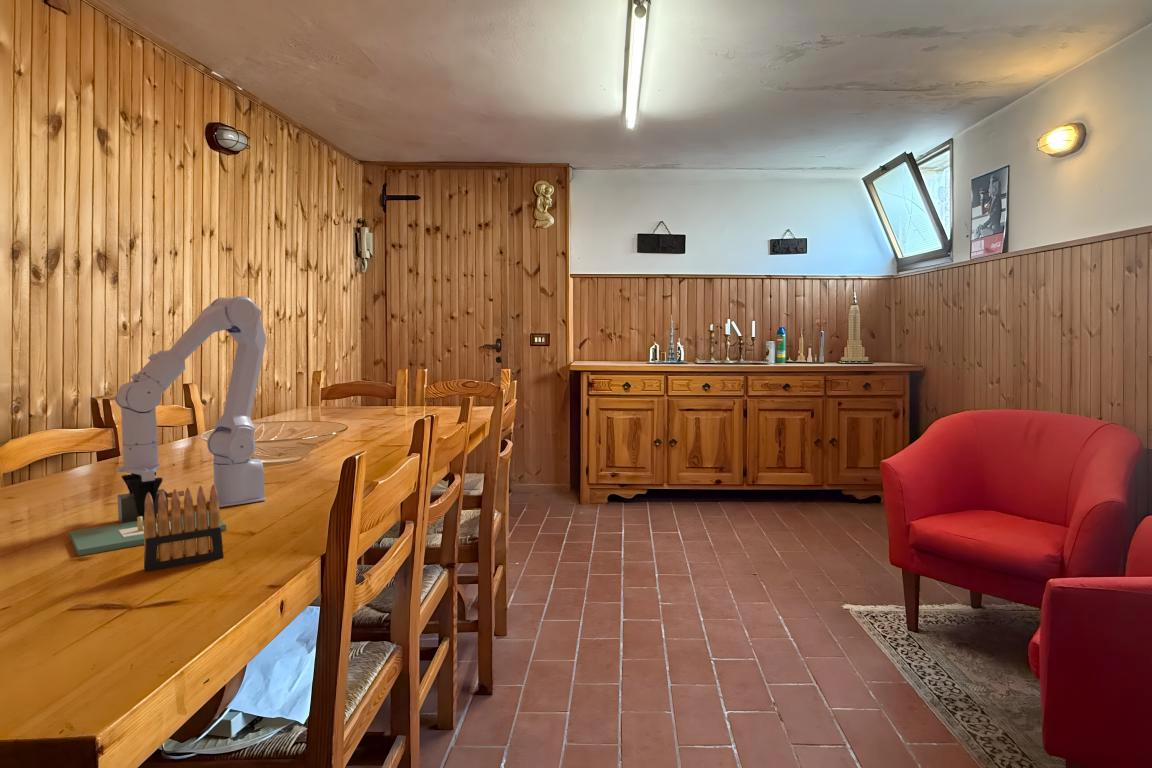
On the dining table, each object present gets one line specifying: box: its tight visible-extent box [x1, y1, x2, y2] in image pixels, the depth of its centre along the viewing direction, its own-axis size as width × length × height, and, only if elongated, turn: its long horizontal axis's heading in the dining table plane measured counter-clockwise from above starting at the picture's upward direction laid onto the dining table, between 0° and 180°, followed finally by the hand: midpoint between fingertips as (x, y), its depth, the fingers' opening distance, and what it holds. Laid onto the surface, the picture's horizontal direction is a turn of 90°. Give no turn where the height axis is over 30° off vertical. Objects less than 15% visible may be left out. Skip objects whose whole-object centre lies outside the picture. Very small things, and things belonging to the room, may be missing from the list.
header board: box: [69, 509, 227, 557], centre depth 121 cm, size 22×14×4 cm, turn 132°
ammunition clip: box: [143, 484, 225, 573], centre depth 105 cm, size 11×2×12 cm, turn 128°
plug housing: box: [117, 488, 185, 524], centre depth 131 cm, size 11×4×5 cm, turn 132°
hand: (143, 511), depth 130 cm, fingers closed on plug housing, 4 cm apart
